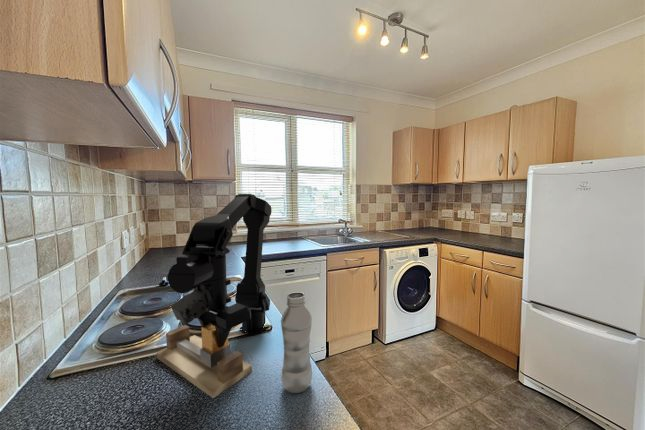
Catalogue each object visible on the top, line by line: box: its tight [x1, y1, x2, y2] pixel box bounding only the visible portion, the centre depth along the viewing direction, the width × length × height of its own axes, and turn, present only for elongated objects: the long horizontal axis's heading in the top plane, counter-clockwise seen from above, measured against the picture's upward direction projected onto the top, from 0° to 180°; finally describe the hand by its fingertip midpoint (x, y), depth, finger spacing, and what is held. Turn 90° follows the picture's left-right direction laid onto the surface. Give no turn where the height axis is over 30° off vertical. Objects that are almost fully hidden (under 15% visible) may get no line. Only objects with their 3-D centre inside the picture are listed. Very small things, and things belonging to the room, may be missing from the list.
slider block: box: [200, 324, 231, 368], centre depth 60 cm, size 5×4×8 cm
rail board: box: [156, 324, 253, 399], centre depth 64 cm, size 10×24×6 cm, turn 56°
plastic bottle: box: [280, 291, 313, 394], centre depth 56 cm, size 6×7×20 cm
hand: (215, 343), depth 60 cm, fingers closed on slider block, 4 cm apart
